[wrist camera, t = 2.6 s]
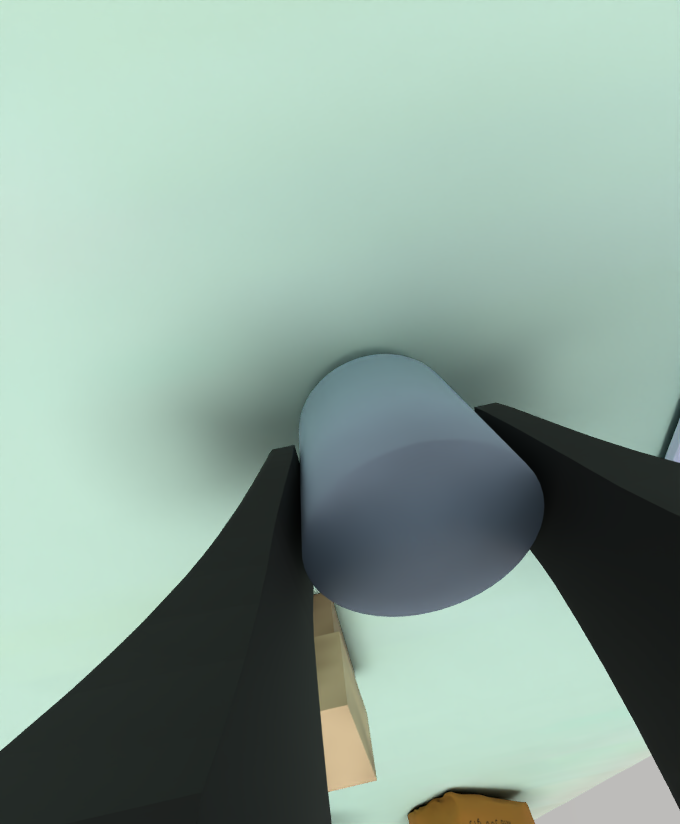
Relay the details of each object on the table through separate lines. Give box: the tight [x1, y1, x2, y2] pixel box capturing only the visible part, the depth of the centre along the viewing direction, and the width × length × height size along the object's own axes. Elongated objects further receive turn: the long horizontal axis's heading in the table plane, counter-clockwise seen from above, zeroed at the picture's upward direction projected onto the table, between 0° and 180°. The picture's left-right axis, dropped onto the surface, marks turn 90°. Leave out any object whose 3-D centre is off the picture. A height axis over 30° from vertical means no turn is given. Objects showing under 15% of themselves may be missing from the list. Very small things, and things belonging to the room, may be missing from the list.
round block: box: [299, 354, 544, 617], centre depth 9 cm, size 5×5×4 cm
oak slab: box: [314, 632, 377, 792], centre depth 15 cm, size 8×8×2 cm
